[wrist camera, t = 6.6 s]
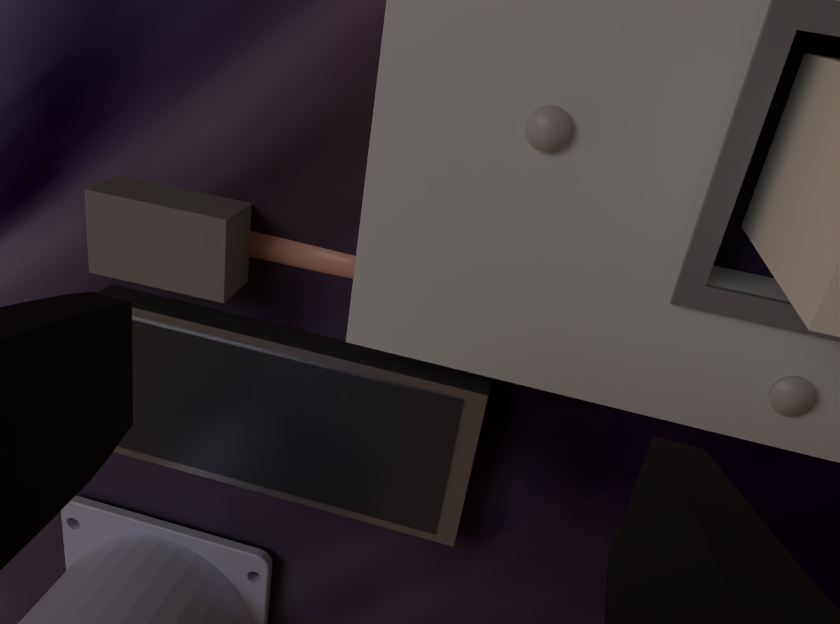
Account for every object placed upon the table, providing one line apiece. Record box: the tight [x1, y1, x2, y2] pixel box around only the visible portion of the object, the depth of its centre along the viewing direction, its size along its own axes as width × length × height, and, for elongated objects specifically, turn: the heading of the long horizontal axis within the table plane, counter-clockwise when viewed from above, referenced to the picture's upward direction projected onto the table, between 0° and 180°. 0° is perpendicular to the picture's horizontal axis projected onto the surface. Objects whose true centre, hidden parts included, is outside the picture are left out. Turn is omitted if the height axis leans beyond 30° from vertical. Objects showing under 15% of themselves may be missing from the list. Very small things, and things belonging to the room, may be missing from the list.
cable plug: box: [84, 175, 356, 303], centre depth 20 cm, size 10×2×2 cm, turn 81°
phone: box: [97, 285, 493, 547], centre depth 22 cm, size 6×12×1 cm, turn 81°
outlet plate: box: [346, 0, 840, 463], centre depth 16 cm, size 11×16×2 cm
